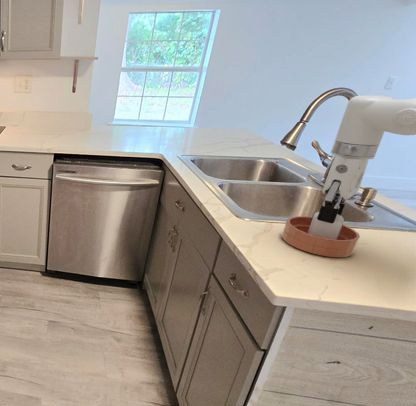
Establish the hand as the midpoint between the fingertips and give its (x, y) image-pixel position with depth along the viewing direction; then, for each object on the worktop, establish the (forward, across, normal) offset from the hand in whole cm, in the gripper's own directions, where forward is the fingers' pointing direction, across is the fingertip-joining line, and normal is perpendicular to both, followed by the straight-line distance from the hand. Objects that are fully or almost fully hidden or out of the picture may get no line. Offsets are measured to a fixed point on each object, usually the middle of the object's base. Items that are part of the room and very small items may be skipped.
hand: (328, 218), depth 94 cm
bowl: (+8, 0, +1) cm, 8 cm away
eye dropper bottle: (+7, 0, 0) cm, 7 cm away
